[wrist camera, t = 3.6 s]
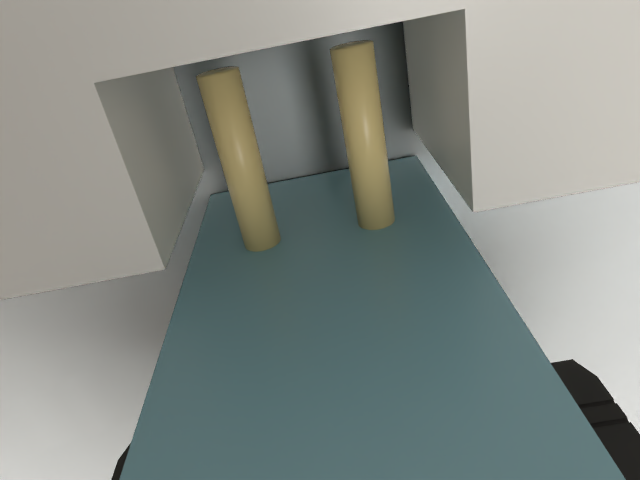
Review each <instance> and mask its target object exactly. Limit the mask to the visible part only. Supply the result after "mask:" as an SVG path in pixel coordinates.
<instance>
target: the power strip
mask: <svg viewBox="0 0 640 480" xmlns="http://www.w3.org/2000/svg"><path fill="white" fill-rule="evenodd" d="M401 21H403V29H404V39H405V49H406V60H407V70H408V81H409V91H410V102H411V112H412V123H413V130H414V131H415V133H416V134H417V136H418V137H419V138H420V140H421V141H422V143H423V144H424V145H425V147H426V148H427V149H428V151H429V152H430V154H431V155H432V156H433V158H434V159H435V160H436V162H437V163H438V165H439V166H440V167H441V169H442V170H443V171H444V173H445V174H446V176H447V177H448V178H449V180H450V181H451V183H452V184H453V185H454V187H455V188H456V189H457V191H458V192H459V194H460V195H461V196H462V198H463V199H464V200H465V202H466V203H467V205H468V206H469V207H470V209H471V210H472V212H473V213H475V212H480V211H486V210H491V209H497V208H502V207H507V206H513V205H518V204H524V203H529V202H534V201H540V200H545V199H551V198H556V197H562V196H567V195H572V194H578V193H583V192H589V191H594V190H599V189H605V188H610V187H616V186H621V185H626V184H632V183H637V182H640V0H0V300H4V299H10V298H15V297H21V296H26V295H31V294H37V293H42V292H48V291H53V290H58V289H64V288H69V287H75V286H80V285H85V284H91V283H96V282H102V281H107V280H113V279H118V278H123V277H129V276H134V275H140V274H145V273H150V272H156V271H161V270H165V269H166V267H167V264H168V261H169V259H170V256H171V254H172V251H173V249H174V246H175V244H176V241H177V238H178V236H179V233H180V231H181V228H182V226H183V223H184V221H185V218H186V215H187V213H188V210H189V208H190V205H191V203H192V200H193V198H194V195H195V192H196V190H197V187H198V185H199V182H200V180H201V177H202V174H203V172H204V167H203V164H202V160H201V157H200V154H199V151H198V147H197V144H196V141H195V138H194V134H193V131H192V128H191V124H190V121H189V118H188V115H187V111H186V108H185V105H184V102H183V98H182V95H181V92H180V89H179V85H178V82H177V79H176V76H175V72H174V69H173V67H176V66H181V65H186V64H191V63H196V62H201V61H206V60H211V59H216V58H221V57H226V56H231V55H236V54H241V53H246V52H251V51H256V50H261V49H266V48H271V47H276V46H281V45H286V44H291V43H296V42H301V41H306V40H311V39H316V38H321V37H326V36H331V35H336V34H341V33H346V32H351V31H356V30H361V29H366V28H371V27H376V26H381V25H386V24H391V23H396V22H401Z"/></svg>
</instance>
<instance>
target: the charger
mask: <svg viewBox="0 0 640 480" xmlns="http://www.w3.org/2000/svg"><path fill="white" fill-rule="evenodd" d="M330 54H331V60H332V66H333V72H334V78H335V84H336V91H337V97H338V103H339V109H340V115H341V121H342V127H343V134H344V140H345V146H346V152H347V158H348V164H349V169H344V170H339V171H333V172H328V173H323V174H318V175H312V176H307V177H302V178H296V179H291V180H286V181H281V182H275V183H270V184H267V180H266V176H265V172H264V168H263V164H262V160H261V156H260V152H259V148H258V144H257V140H256V136H255V132H254V128H253V124H252V120H251V116H250V112H249V108H248V104H247V100H246V95H245V91H244V87H243V83H242V79H241V75H240V71H239V67H237V66H231V67H223V68H218V69H214V70H210V71H207V72H204V73H201V74H199V75H197V76H196V79H197V82H198V85H199V89H200V92H201V96H202V99H203V103H204V106H205V110H206V113H207V117H208V120H209V124H210V127H211V131H212V134H213V137H214V141H215V144H216V148H217V151H218V155H219V158H220V162H221V165H222V169H223V172H224V176H225V179H226V183H227V186H228V189H229V191H228V192H223V193H217V194H212V195H211V196H210V199H209V202H208V206H207V209H206V212H205V215H204V218H203V221H202V224H201V227H200V230H199V234H198V237H197V240H196V243H195V246H194V249H193V252H192V255H191V258H190V262H189V265H188V268H187V271H186V274H185V277H184V280H183V283H182V286H181V289H180V293H179V296H178V299H177V302H176V305H175V308H174V311H173V314H172V317H171V321H170V324H169V327H168V330H167V333H166V336H165V339H164V342H163V345H162V348H161V352H160V355H159V358H158V361H157V364H156V367H155V370H154V373H153V376H152V380H151V383H150V386H149V389H148V392H147V395H146V398H145V401H144V404H143V408H142V411H141V414H140V417H139V420H138V423H137V426H136V429H135V432H134V435H133V439H132V442H131V445H130V448H129V451H128V454H127V457H126V460H125V463H124V467H123V470H122V473H121V476H120V479H119V480H626V479H625V478H624V476H623V474H622V473H621V471H620V470H619V468H618V467H617V465H616V464H615V462H614V461H613V459H612V457H611V456H610V454H609V453H608V451H607V450H606V448H605V447H604V445H603V444H602V442H601V440H600V439H599V437H598V436H597V434H596V433H595V431H594V430H593V428H592V427H591V425H590V423H589V422H588V420H587V419H586V417H585V416H584V414H583V413H582V411H581V410H580V408H579V406H578V405H577V403H576V402H575V400H574V399H573V397H572V396H571V394H570V393H569V391H568V389H567V388H566V386H565V385H564V383H563V382H562V380H561V379H560V377H559V375H558V374H557V372H556V371H555V369H554V368H553V366H552V365H551V363H550V362H549V360H548V358H547V357H546V355H545V354H544V352H543V351H542V349H541V348H540V346H539V345H538V343H537V341H536V340H535V338H534V337H533V335H532V334H531V332H530V331H529V329H528V328H527V326H526V324H525V323H524V321H523V320H522V318H521V317H520V315H519V314H518V312H517V311H516V309H515V307H514V306H513V304H512V303H511V301H510V300H509V298H508V297H507V295H506V293H505V292H504V290H503V289H502V287H501V286H500V284H499V283H498V281H497V280H496V278H495V276H494V275H493V273H492V272H491V270H490V269H489V267H488V266H487V264H486V263H485V261H484V259H483V258H482V256H481V255H480V253H479V252H478V250H477V249H476V247H475V246H474V244H473V242H472V241H471V239H470V238H469V236H468V235H467V233H466V232H465V230H464V229H463V227H462V225H461V224H460V222H459V221H458V219H457V218H456V216H455V215H454V213H453V211H452V210H451V208H450V207H449V205H448V204H447V202H446V201H445V199H444V198H443V196H442V194H441V193H440V191H439V190H438V188H437V187H436V185H435V184H434V182H433V181H432V179H431V177H430V176H429V174H428V173H427V171H426V170H425V168H424V167H423V165H422V164H421V162H420V160H419V159H418V157H417V156H412V157H407V158H402V159H397V160H391V161H388V158H387V150H386V142H385V134H384V126H383V117H382V109H381V101H380V93H379V85H378V77H377V69H376V61H375V53H374V45H373V41H371V40H362V41H354V42H348V43H344V44H340V45H337V46H334V47H332V48H330Z"/></svg>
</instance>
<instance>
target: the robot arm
mask: <svg viewBox="0 0 640 480" xmlns="http://www.w3.org/2000/svg"><path fill="white" fill-rule="evenodd" d="M551 365H552V366H553V368H554V369H555V371H556V372H557V374H558V375H559V377H560V379H561V380H562V382H563V383H564V385H565V386H566V388H567V389H568V391H569V393H570V394H571V396H572V397H573V399H574V400H575V402H576V403H577V405H578V406H579V408H580V410H581V411H582V413H583V414H584V416H585V417H586V419H587V420H588V422H589V423H590V425H591V427H592V428H593V430H594V431H595V433H596V434H597V436H598V437H599V439H600V440H601V442H602V444H603V445H604V447H605V448H606V450H607V451H608V453H609V454H610V456H611V457H612V459H613V461H614V462H615V464H616V465H617V467H618V468H619V470H620V471H621V473H622V474H623V476H624V478H625V479H626V480H640V434H639V433H638V431H637V430H636V429H635V427H634V426H633V425H632V423H631V422H630V423H629V422H628V419H627V416H626V415H625V414H624V412H623V411H622V410H621V408H620V407H619V406H618V404H617V403H616V404H615V403H614V399H613V397H612V396H611V395H610V393H609V392H608V391H607V389H606V388H605V387H604V385H603V384H602V383H601V381H600V380H599V378H598V377H597V376H596V375H594V374H593V373H591V372H590V371H588V370H587V369H586V368H584V367H583V366H581V365H580V364H578V363H577V362H575V361H574V360H573V359H572V360H566V361H560V362H554V363H551ZM130 445H131V443H130ZM130 445H129V446H128V447H127V449H126V450H125V451H124V453H123V454H122V456H121V457H120V458H119V460H118V462H117V465H116V468H115V471H114V474H113V477H112V480H119V479H120V476H121V473H122V470H123V467H124V463H125V460H126V457H127V454H128V451H129V448H130Z"/></svg>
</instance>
